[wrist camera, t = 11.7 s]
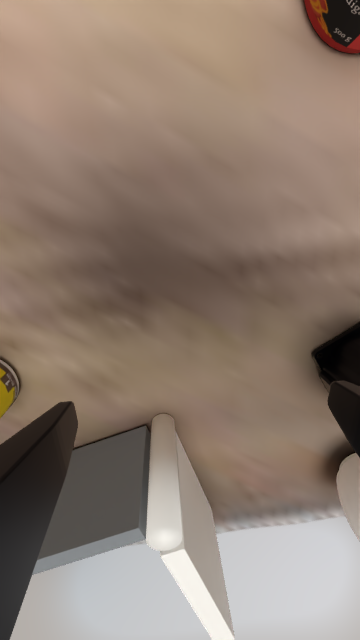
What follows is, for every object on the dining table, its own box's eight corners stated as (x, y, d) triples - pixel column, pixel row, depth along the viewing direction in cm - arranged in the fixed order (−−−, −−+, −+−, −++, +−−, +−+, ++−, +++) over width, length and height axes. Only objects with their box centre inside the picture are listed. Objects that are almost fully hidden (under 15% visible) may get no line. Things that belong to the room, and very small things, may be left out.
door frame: (169, 410, 25) (175, 522, 15) (213, 508, 30) (238, 637, 20) (148, 417, 25) (140, 533, 16) (195, 513, 30) (211, 645, 20)
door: (142, 419, 25) (133, 520, 16) (153, 440, 26) (150, 546, 17) (-6, 469, 25) (-90, 591, 17) (9, 488, 26) (-62, 612, 18)
